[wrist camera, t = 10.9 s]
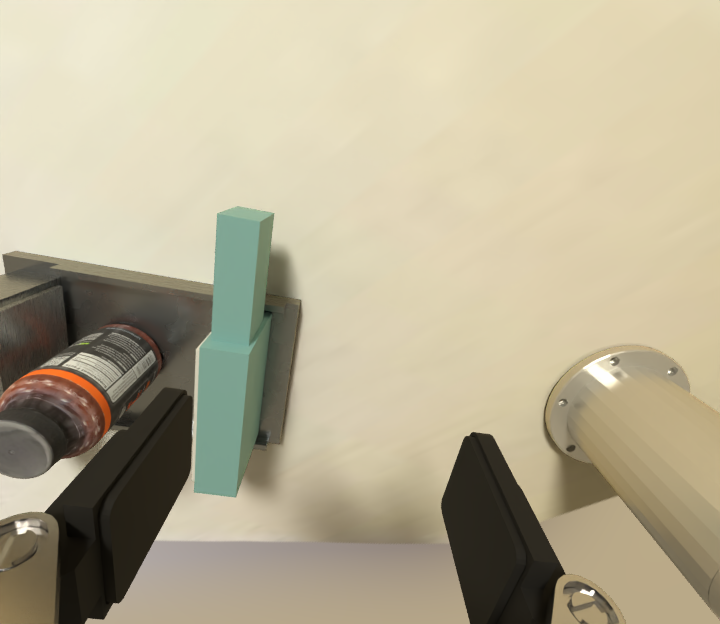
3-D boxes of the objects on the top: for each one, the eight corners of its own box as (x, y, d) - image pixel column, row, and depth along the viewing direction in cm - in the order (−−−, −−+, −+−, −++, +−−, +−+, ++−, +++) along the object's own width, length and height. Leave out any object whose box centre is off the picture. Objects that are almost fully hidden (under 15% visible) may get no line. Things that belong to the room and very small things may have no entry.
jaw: (283, 210, 26) (261, 225, 20) (258, 433, 34) (235, 497, 27) (235, 201, 26) (196, 213, 20) (220, 427, 33) (188, 491, 27)
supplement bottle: (133, 396, 32) (26, 510, 21) (75, 348, 30) (-73, 446, 20) (180, 359, 31) (91, 459, 20) (122, 306, 29) (-9, 387, 18)
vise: (300, 299, 30) (283, 345, 23) (281, 435, 35) (262, 509, 28) (0, 248, 28) (-129, 278, 21) (25, 399, 33) (-72, 469, 26)
